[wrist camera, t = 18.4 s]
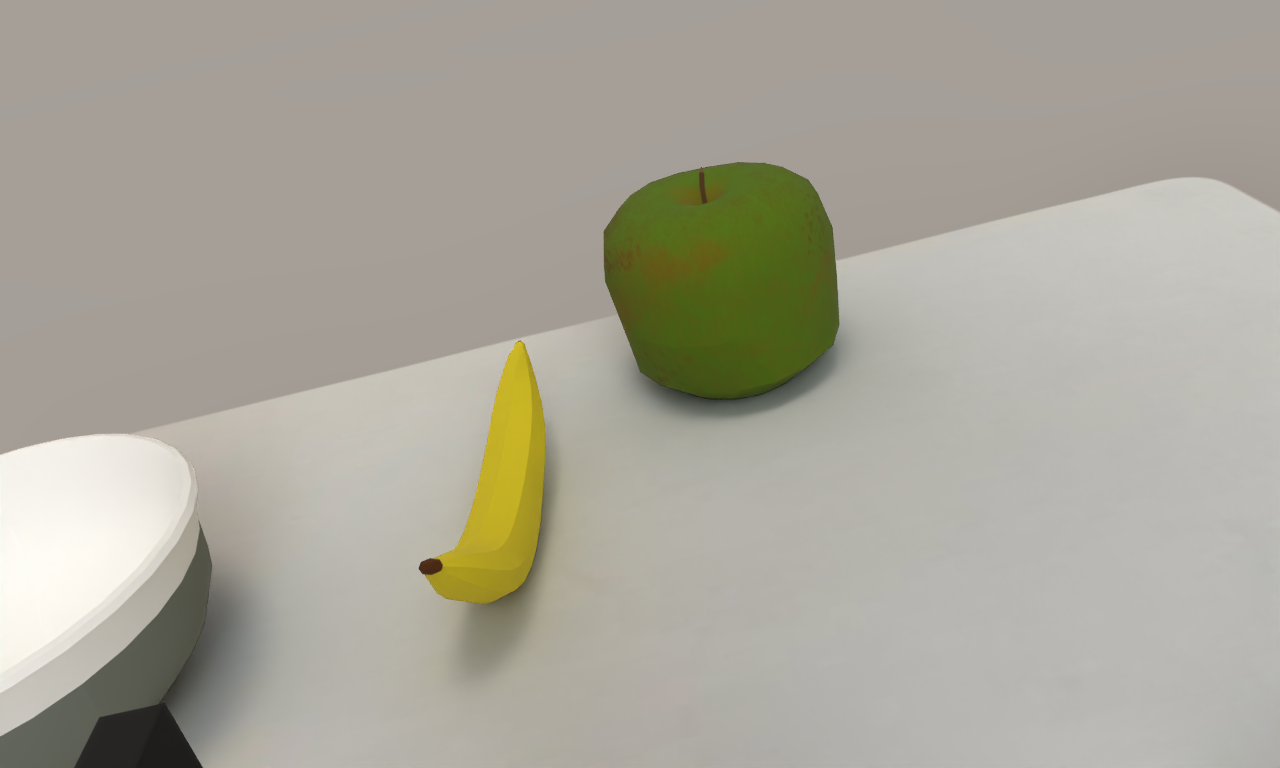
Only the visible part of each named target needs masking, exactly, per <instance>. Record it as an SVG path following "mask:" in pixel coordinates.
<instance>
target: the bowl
mask: <svg viewBox="0 0 1280 768" xmlns="http://www.w3.org/2000/svg"><path fill="white" fill-rule="evenodd" d="M197 495H198V484H197V480H196V475H195V471H194V466H193V465H192V464H191V463H190V462H189V461H188V460H187V458H186V457H185V456H184V455H183V454H182V453H181V452H180V451H179V450H177V449H175V448H174V447H171V446H169V445H167V444H165V443H163V442H161V441H159V440H157V439H155V438H149V437H144V436H138V435H132V434H95V435H86V436H79V437H71V438H63V439H58V440H54V441H50V442H45V443H41V444H37V445H32V446H28V447H24V448H21V449H17V450H14V451H11V452H7V453H4V454H1V455H0V768H74V767H75V765H76V763H77V761H78V759H79V757H80V755H81V753H82V751H83V749H84V747H85V745H86V743H87V741H88V739H89V737H90V735H91V733H92V731H93V729H94V727H95V725H96V723H97V721H98V719H99V717H103V716H107V715H112V714H116V713H121V712H126V711H130V710H135V709H140V708H144V707H149V706H154V705H158V704H159V703H160V702H161V700H162V699H163V697H164V696H165V694H166V693H167V691H168V690H169V688H170V687H171V685H172V684H173V682H174V681H175V679H176V678H177V676H178V674H179V673H180V671H181V669H182V668H183V666H184V664H185V663H186V661H187V660H188V658H189V656H190V655H191V653H192V651H193V649H194V647H195V645H196V642H197V640H198V638H199V635H200V633H201V631H202V628H203V626H204V622H205V616H206V609H207V603H208V595H209V587H210V579H211V571H212V562H211V558H210V553H209V549H208V545H207V542H206V539H205V536H204V533H203V531H202V528H201V525H200V522H199V519H198V514H197Z"/></svg>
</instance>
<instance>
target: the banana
mask: <svg viewBox="0 0 1280 768" xmlns="http://www.w3.org/2000/svg"><path fill="white" fill-rule="evenodd" d="M545 450H546V446H545V422H544V415H543V408H542V401H541V398H540V394H539V390H538V386H537V382H536V378H535V375H534V372H533V368H532V365H531V362H530V358H529V356H528V353H527V350H526V347H525V344H524V343H523V342H522V341H518V342H517V343H516V344H515V346H514V349H513V350H512V351H511V353H510V354H509V356H508V359H507V362H506V365H505V368H504V371H503V374H502V377H501V381H500V384H499V387H498V391H497V395H496V399H495V404H494V408H493V413H492V418H491V423H490V429H489V435H488V440H487V445H486V450H485V455H484V459H483V464H482V469H481V473H480V478H479V483H478V487H477V491H476V495H475V498H474V502H473V506H472V510H471V513H470V516H469V519H468V522H467V525H466V528H465V531H464V533H463V535H462V537H461V539H460V541H459V544H458V545H457V547H456V548H455V549H454V550H452V551H450V552H447V553H445V554H442V555H440V556H438V557H436V558H434V559H431V558H430V559H427V560H425V561H423V562H421V563H420V566H419V570H420V571H421V573H422V574H425V576H426V578H427V579H428V581H429V582H430V584H431V585H432V586H433V588H434V589H435V591H436V592H437V593H438V594H439V595H441V596H443V597H444V598H446V599H451V600H458V601H464V602H471V603H478V604H486V603H490V602H493V601H495V600H497V599H499V598H501V597H503V596H505V595H507V594H509V593H511V592H513V591H515V590H516V589H517V588H518V587H519V586H520V585H521V584H522V583H523V582H524V581H525V579H526V577H527V575H528V573H529V571H530V569H531V567H532V563H533V559H534V556H535V552H536V549H537V543H538V536H539V530H540V524H541V512H542V500H543V486H544V470H545Z"/></svg>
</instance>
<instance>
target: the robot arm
mask: <svg viewBox="0 0 1280 768" xmlns="http://www.w3.org/2000/svg"><path fill="white" fill-rule="evenodd" d="M74 768H203V767H202V766H201V764H200V762H199V760H198V759H197V757H196V755H195V754H194V752H193V750H192V749H191V747H190V745H189V743H188V742H187V740H186V738H185V737H184V735H183V733H182V732H181V730H180V728H179V727H178V725H177V723H176V721H175V720H174V718H173V716H172V715H171V713H170V711H169V710H168V708H167V706H166V705H165V703H163V704H158V705H154V706H149V707H144V708H140V709H135V710H130V711H126V712H121V713H116V714H112V715H107V716H103V717H99V719H98V721H97V723H96V725H95V727H94V729H93V731H92V733H91V735H90V737H89V739H88V741H87V743H86V745H85V747H84V749H83V751H82V753H81V755H80V757H79V759H78V761H77V763H76V765H75V767H74Z"/></svg>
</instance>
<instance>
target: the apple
mask: <svg viewBox="0 0 1280 768" xmlns="http://www.w3.org/2000/svg"><path fill="white" fill-rule="evenodd" d="M604 270H605V282H606V284H607V287H608V289H609V292H610V295H611V297H612V300H613V302H614V305H615V307H616V310H617V312H618V315H619V318H620V320H621V323H622V325H623V328H624V330H625V333H626V336H627V338H628V341H629V343H630V346H631V348H632V351H633V354H634V356H635V359H636V361H637V364H638V367H639V369H640V372H642V373H643V374H645V375H646V376H648V377H649V378H651V379H652V380H654V381H655V382H657V383H658V384H660V385H663V386H666V387H669V388H672V389H675V390H679V391H682V392H685V393H688V394H692V395H696V396H700V397H704V398H707V399H737V398H743V397H749V396H755V395H761V394H763V393H765V392H768V391H770V390H772V389H774V388H776V387H779V386H781V385H783V384H785V383H786V382H787V381H789V380H790V379H791V378H793V377H794V376H795V375H797V374H798V373H799V372H801V371H802V370H803V369H805V368H806V367H807V366H809V365H810V364H811V363H812V362H813V361H815V360H816V359H817V358H818V357H819V356H820V355H822V354H823V353H824V352H825V351H826V350H828V349H829V348H830V347H831V346H832V345H833V343H834V340H835V337H836V334H837V330H838V327H839V309H838V290H837V273H836V262H835V251H834V240H833V228H832V225H831V223H830V221H829V219H828V216H827V214H826V212H825V209H824V207H823V205H822V202H821V200H820V198H819V195H818V193H817V192H816V190H815V189H814V187H813V186H812V184H811V183H810V181H809V180H808V179H805V178H804V177H802V176H800V175H798V174H796V173H794V172H792V171H790V170H787V169H785V168H783V167H780V166H775V165H771V164H766V163H744V162H737V163H731V164H724V165H717V166H711V167H705V168H702V167H701V168H700V169H696V170H691V171H687V172H681V173H677V174H674V175H671V176H669V177H666V178H662V179H659V180H657V181H654V182H651V183H649V184H647V185H646V186H644V187H643V188H641V189H640V190H638V191H637V192H635V193H633V194H632V195H631V196H630V197H629V198H628V199H627V200H626V201H625V202H624V203H623V205H621V207H620V208H619V209H618V211H617V212H616V214H615V215H614V217H613V218H612V220H611V221H610V223H609V224H608V226H607V227H606V229H605V230H604Z"/></svg>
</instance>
